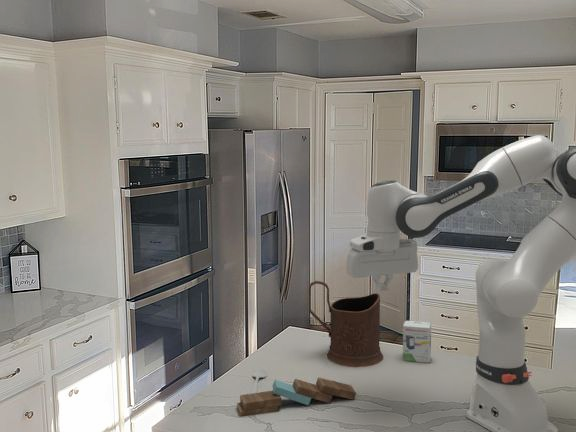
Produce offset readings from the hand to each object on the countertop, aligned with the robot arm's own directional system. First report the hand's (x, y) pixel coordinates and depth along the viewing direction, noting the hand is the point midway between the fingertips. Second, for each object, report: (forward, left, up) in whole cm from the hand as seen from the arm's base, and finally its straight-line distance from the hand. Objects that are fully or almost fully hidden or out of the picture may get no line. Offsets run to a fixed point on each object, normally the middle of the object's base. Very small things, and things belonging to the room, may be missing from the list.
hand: (382, 290), depth 158 cm
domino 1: (+1, +30, -27) cm, 40 cm away
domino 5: (0, +9, -28) cm, 30 cm away
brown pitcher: (+27, -1, -29) cm, 40 cm away
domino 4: (0, +16, -28) cm, 32 cm away
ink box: (+17, -21, -29) cm, 40 cm away
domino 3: (0, +21, -28) cm, 35 cm away
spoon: (+15, +32, -30) cm, 46 cm away
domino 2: (0, +31, -29) cm, 42 cm away
